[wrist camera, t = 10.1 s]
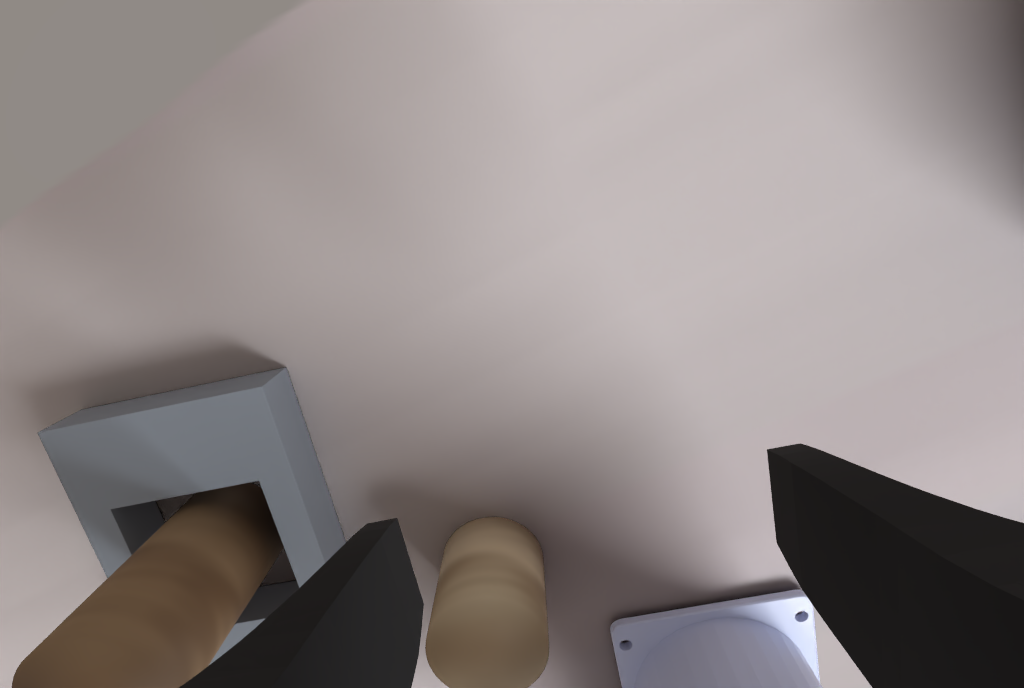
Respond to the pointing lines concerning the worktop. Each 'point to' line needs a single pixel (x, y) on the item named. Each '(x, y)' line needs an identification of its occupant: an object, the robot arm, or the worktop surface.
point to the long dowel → (165, 600)
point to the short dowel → (489, 608)
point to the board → (198, 471)
